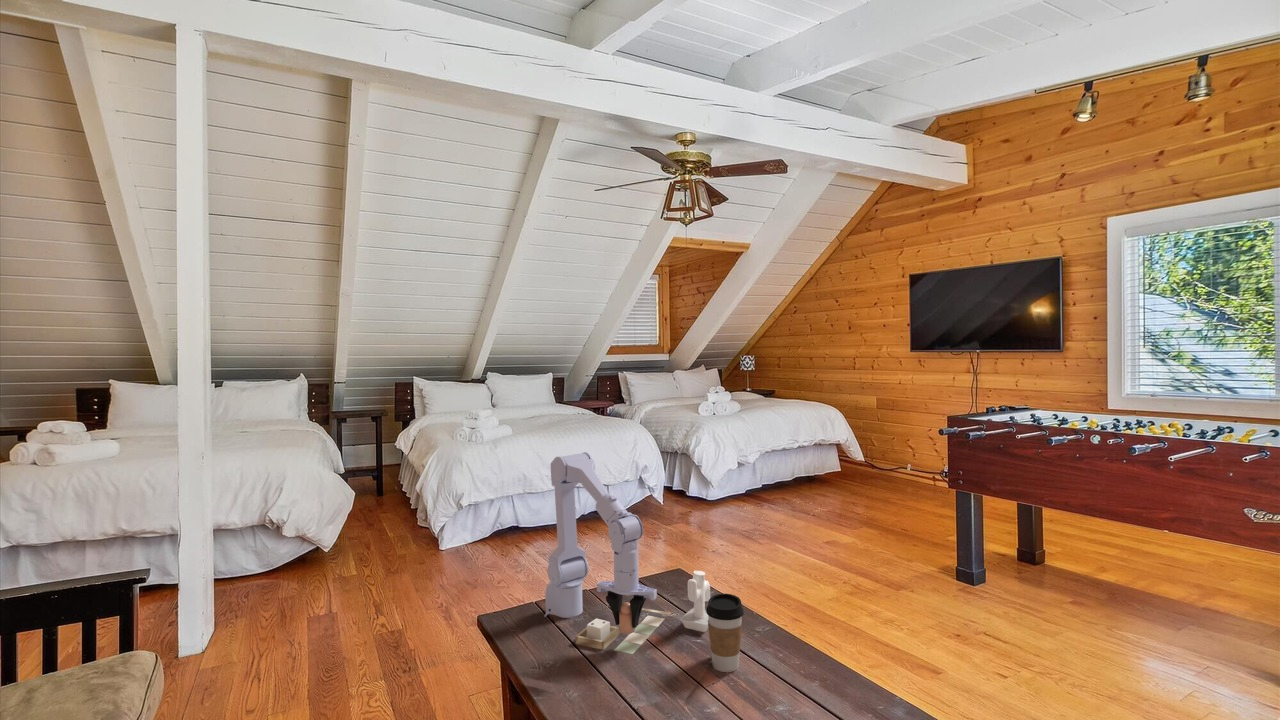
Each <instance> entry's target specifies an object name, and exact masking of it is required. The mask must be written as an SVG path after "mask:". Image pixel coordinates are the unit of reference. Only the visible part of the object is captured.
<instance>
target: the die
mask: <svg viewBox="0 0 1280 720" xmlns="http://www.w3.org/2000/svg"><path fill="white" fill-rule="evenodd" d="M610 626H611V622H610V621H608V620H605V619H600V618H597V617H596V618H595V619H593V620H592V621H591V622H589V623H588V624H587V623H586V627H587V638H592V639H597V640H602V641H603V640H604V639H605V638H606V637H607V636H608V635H609V634H610Z"/></svg>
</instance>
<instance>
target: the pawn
mask: <svg viewBox="0 0 1280 720" xmlns="http://www.w3.org/2000/svg"><path fill="white" fill-rule="evenodd" d="M618 627H619V633H620V634H624V635H629V634H631V633H633V632H634V631H635V628H632V611H631V606H630V601H629V602H628V601H625V602H622V605H621V607H620V611H619V625H618ZM634 633H635V632H634Z"/></svg>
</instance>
